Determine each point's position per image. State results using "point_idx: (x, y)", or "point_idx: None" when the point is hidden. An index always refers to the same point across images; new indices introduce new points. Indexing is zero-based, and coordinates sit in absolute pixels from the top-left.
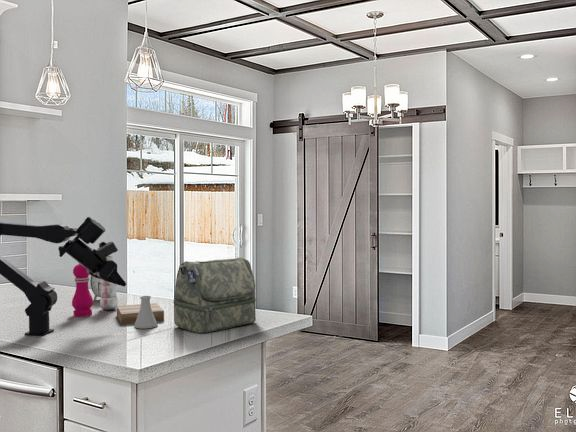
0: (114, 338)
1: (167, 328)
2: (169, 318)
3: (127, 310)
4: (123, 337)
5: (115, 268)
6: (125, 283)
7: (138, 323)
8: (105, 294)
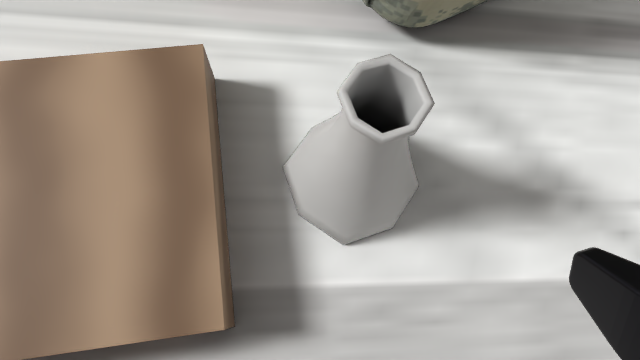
0: None
1: None
2: (146, 47)
3: (89, 285)
4: None
5: None
6: (612, 260)
7: (393, 212)
8: None
